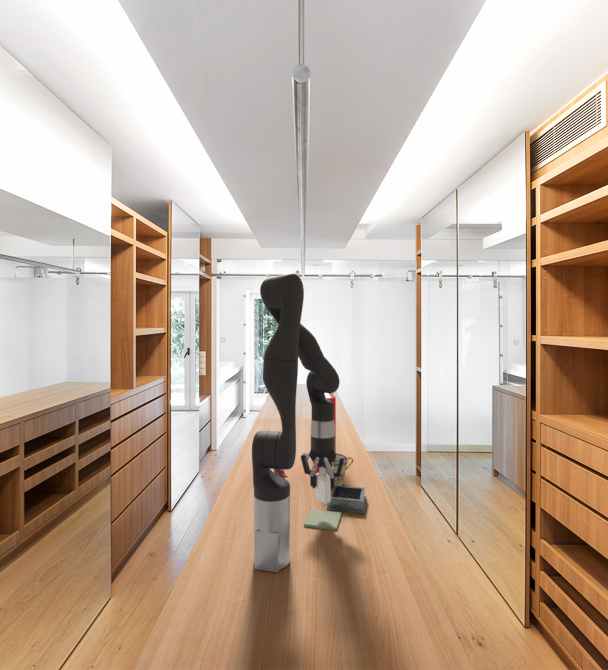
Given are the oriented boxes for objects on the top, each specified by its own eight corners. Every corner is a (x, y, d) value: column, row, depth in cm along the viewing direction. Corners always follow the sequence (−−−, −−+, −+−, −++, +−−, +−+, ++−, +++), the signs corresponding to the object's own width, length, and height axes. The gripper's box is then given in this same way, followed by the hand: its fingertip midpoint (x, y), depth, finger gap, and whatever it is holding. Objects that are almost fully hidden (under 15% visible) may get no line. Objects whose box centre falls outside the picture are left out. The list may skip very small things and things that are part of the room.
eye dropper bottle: (317, 504, 119) (317, 465, 119) (314, 496, 125) (314, 459, 124) (331, 504, 119) (331, 465, 119) (328, 496, 125) (328, 458, 125)
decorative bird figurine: (277, 476, 159) (277, 451, 159) (291, 493, 142) (291, 465, 142) (270, 477, 158) (270, 452, 158) (284, 494, 141) (284, 466, 141)
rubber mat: (336, 530, 116) (336, 527, 116) (303, 526, 118) (303, 523, 118) (341, 514, 126) (341, 512, 126) (310, 511, 128) (310, 509, 128)
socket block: (363, 514, 126) (363, 502, 126) (327, 510, 129) (327, 498, 129) (366, 498, 138) (366, 487, 138) (332, 495, 140) (332, 484, 140)
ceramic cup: (328, 490, 145) (328, 464, 144) (317, 479, 154) (317, 454, 153) (358, 485, 150) (359, 459, 149) (346, 475, 159) (347, 451, 158)
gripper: (297, 435, 119) (297, 491, 120) (344, 438, 116) (344, 495, 117) (302, 429, 127) (302, 481, 127) (347, 432, 124) (346, 485, 124)
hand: (322, 487), depth 122 cm, fingers closed on eye dropper bottle, 4 cm apart
